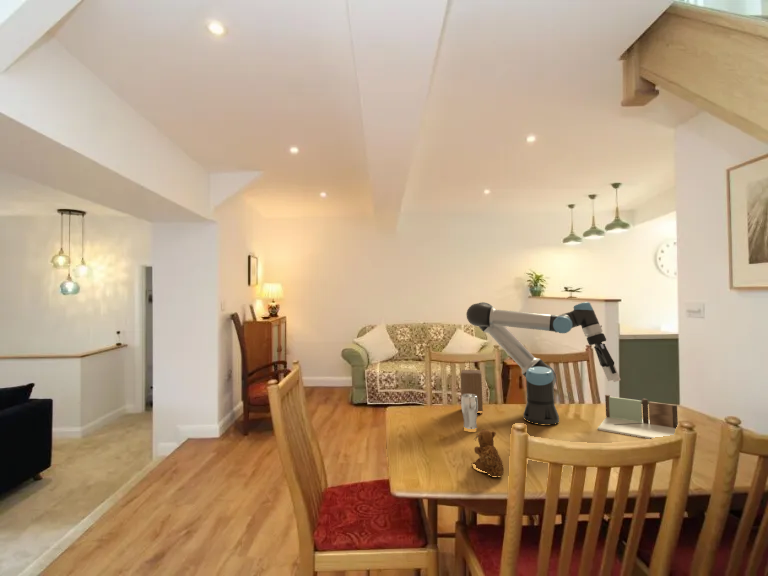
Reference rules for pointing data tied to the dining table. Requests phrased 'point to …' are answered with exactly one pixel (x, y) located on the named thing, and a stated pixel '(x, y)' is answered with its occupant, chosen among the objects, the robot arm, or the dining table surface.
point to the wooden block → (472, 385)
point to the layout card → (635, 428)
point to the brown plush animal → (488, 454)
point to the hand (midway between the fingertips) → (614, 380)
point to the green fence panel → (623, 408)
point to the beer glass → (469, 410)
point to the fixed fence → (660, 414)
